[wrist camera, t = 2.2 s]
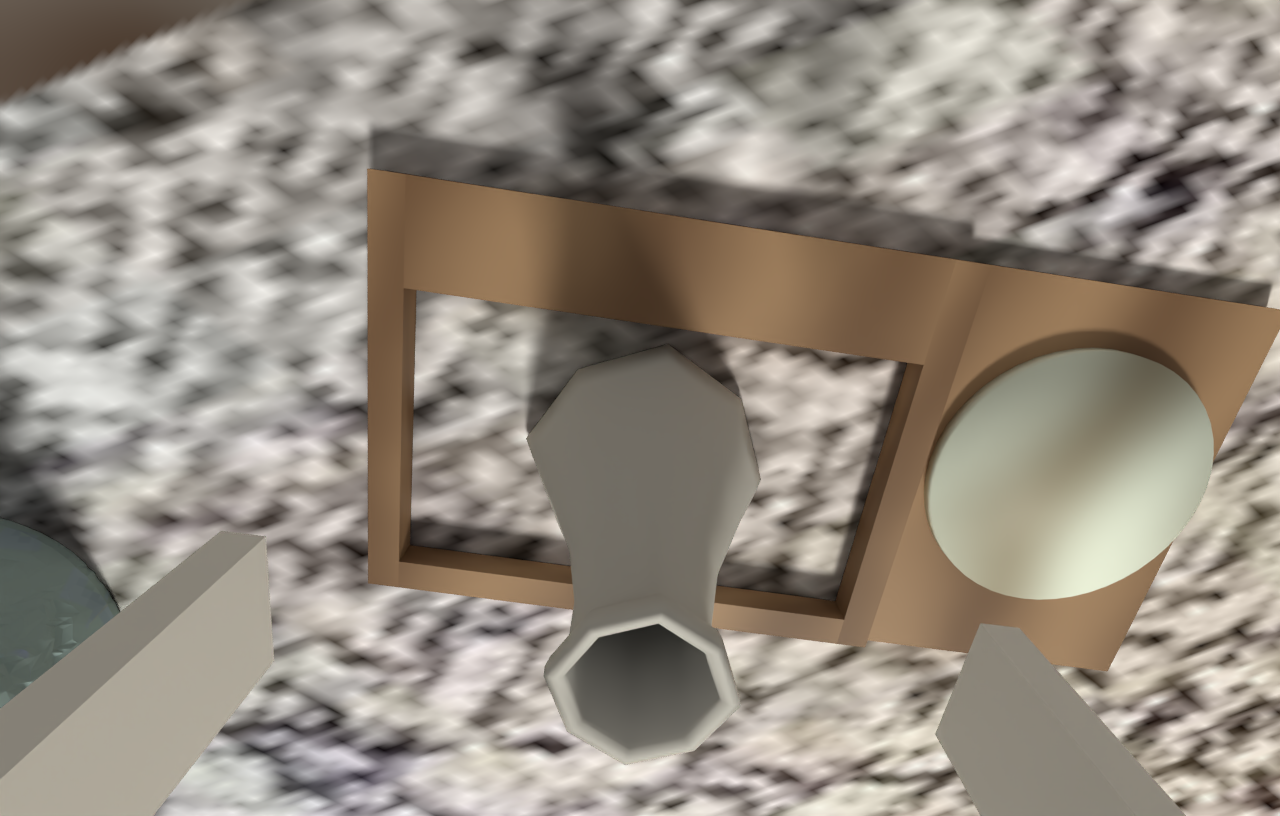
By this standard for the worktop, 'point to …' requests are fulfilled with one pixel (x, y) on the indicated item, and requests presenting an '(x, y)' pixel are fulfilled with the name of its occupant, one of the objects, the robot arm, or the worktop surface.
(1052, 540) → the board
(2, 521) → the green cup
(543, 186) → the worktop surface
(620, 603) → the flask
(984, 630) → the robot arm
